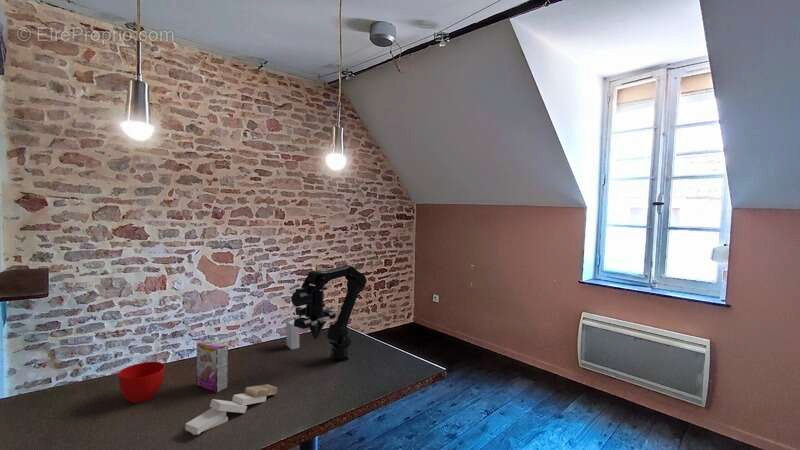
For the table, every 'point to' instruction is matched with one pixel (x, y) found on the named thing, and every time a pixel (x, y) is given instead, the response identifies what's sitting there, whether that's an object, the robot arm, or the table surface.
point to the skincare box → (292, 335)
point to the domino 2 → (217, 423)
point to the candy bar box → (212, 365)
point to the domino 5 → (261, 390)
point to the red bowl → (141, 381)
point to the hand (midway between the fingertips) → (315, 339)
